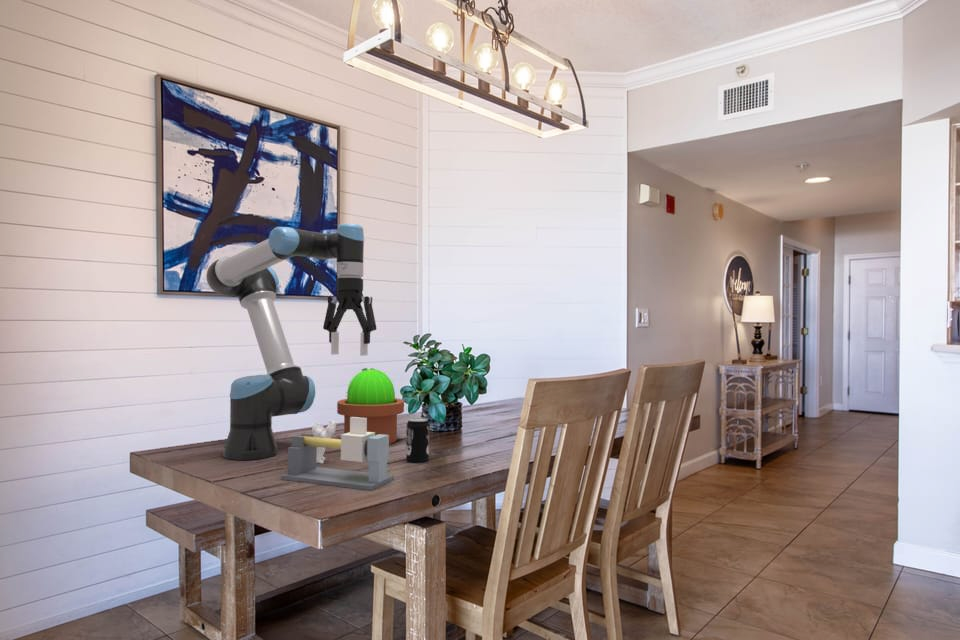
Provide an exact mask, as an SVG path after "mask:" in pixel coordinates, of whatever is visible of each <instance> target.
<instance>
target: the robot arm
mask: <svg viewBox="0 0 960 640" xmlns="http://www.w3.org/2000/svg"><path fill="white" fill-rule="evenodd" d="M336 229H337V230H336V232H334V233H323V232H317V231H310V230H305V229H300V228H299V229H298V228H295V227H291V226H290V227H289V226H276V227H274V228H273V229H272V231H271V232H270V233H269V236H268V238H266V239H265V240H262V241H261V242H259V243H257V244H254V245H252V246H251V247H248V248H247V249H244V250H242V251H241V252H238V253H237V254H234V255H232V256H222V257H221V258H219V259H217V260H214V262H212V263H211V264H210V265H209V266H208V268H207V271H206V281H207V285H208V286H209V288H210V289H211V290H212V291H213V292H214V293H216V294H217V295H219V296H222V297H229V298H237V299H238V301H239V304H240V306H241V308H243V309H246V310H247V313H248V316H249V319H250V323H251V326H252V328H253V332H254V335H255V338H256V342H257V344H258V347H259V350H260V353H261V357H262V360H263V363H264V366H265V369H266V374H255V375H247V376H246V375H245V376H243V377H239V378H236V379H235V380H233V382H231V384H230V392H229V398H230V400H229V401H230V402H229V403H230V411H229V432H228V435H227V438H226V441H225V446H224V447H223V455H222V456H223V458H224V459H227V460H236V461H250V460H252V461H253V460H260V459H267V458H270V457H274V456H276V455H277V454H278V444H277V442H276V438H275V435H274V432H273V429H272V424H273V423H272V422H273V421H272V420H273V417H279V416H280V417H281V416H288V415H296V414H300V413H304V412H306V411H308V410H310V408H311V407H312V405H313V403H314V401H315V398H316V386H315V382H314V380H313V379H312V378H311V377H310V376H307V375H303V371H302V368H301V366H298V365H296V364H295V363H294V359H293V357H292V354H291V352H290V348H289V345H288V342H287V339H286V337H285V333H284V330H283V327H282V323H281V320H280V318H279V316H278V315H279V314H278V312H277V310H276V309H277V308H276V306H275V304H274V301H275V300H276V298H277V294H278V292H279V288H280V287H279V285H280V282H279V281H280V280H279V277H278V274H277V272H276V271H275V270H274V268H273V267H272V266H275V265H277V264H279V263H282V262H283V261H285V260H288V259H290V258H293V257H296V256H297V257H307V258H312V259H314V260H319V261H320V260H321V261H326V260H331V259H333V260H335V259H336V262H337V263H336V266H337V267H336V276H337V277H338V278H337V279H336V291H337V293H336V296H328V297H327V309H326V313H325V317H324V322H323V326H322V328H323V330H325V331H328V337H329V339H328V340H329V341H328V342H329V343H330V347H331V348H330V354H331V355H333V356H334V355H339V354H340V353H339V350H340V348H339V346H340V345H339V342H340V340H339V339H340V336H339V335H340V332H339V331H338V328H339V326H340V323H341V322H342V319H343V318H344V316H345V313H346V312H347V310H352V311H353V312H354V313H355V315H356V318H357V321H358V323H359V325H360V328H361V330H362V331H361V332H360V339H359V340H360V345H359V346H360V348H359V349H360V350H359V351H360V353H359V355H360V356H368V355H369V353H368V350H369V349H368V347H369V346H368V345H369V344H370V343H371V333H372V332H374V331H376V330H377V324H376V318H375V314H374V309H373V297H372V296H369V295H368V296H367V295H366V296H365V295H364V294H363V291H364V279H363V277H364V252H365V251H364V247H365V244H364V243H365V237H364V236H365V235H364V227H363V226H362V225H361V224H358V223H357V224H356V223H341V224H338V225H337V228H336ZM337 303H338V305H337ZM362 303H363V306H364V307H362ZM364 312H365V313H364Z"/></svg>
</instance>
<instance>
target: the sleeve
mask: <svg viewBox="0 0 960 640" xmlns="http://www.w3.org/2000/svg"><path fill="white" fill-rule="evenodd" d="M372 436H375V432H367V418H360V417H350V432H349V433H345V434H344V433H342V434H340V439H341V449H340V460H341V461H349V462H359V463H363V462H366V461H367V455H366V454H365V450H364V447H365V442H366V441H367V439H368V438H369V437H372Z"/></svg>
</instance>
